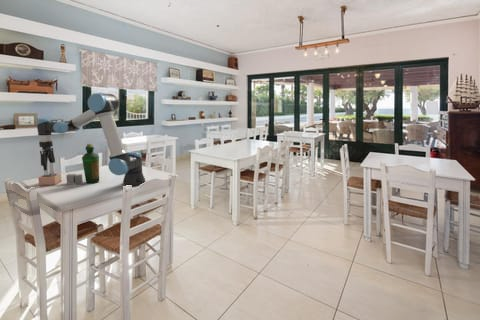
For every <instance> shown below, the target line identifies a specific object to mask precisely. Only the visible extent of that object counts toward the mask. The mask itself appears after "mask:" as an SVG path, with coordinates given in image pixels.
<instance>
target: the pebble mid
mask: <svg viewBox="0 0 480 320" xmlns="http://www.w3.org/2000/svg"><path fill="white" fill-rule="evenodd" d="M75 175H76V173H67V174H66V176H65V178H66V184H67V185H76V184H75Z"/></svg>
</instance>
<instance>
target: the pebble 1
mask: <svg viewBox="0 0 480 320" xmlns="http://www.w3.org/2000/svg"><path fill="white" fill-rule="evenodd" d="M55 174H56V173H55V172H50V171H49V175H44V174H43V175H44V176H45V177H54V176H55Z"/></svg>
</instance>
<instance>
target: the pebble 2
mask: <svg viewBox="0 0 480 320" xmlns="http://www.w3.org/2000/svg"><path fill="white" fill-rule="evenodd" d="M75 174H76V173H75ZM83 183H84V179H83V174H78V173H77V174H76V175H75V184H74V185H80V184H81V185H82V184H83Z"/></svg>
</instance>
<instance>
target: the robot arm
mask: <svg viewBox="0 0 480 320" xmlns="http://www.w3.org/2000/svg"><path fill="white" fill-rule="evenodd" d="M87 107H88V108H89V109H88V110H86V111H85V112H82V113H80V114H79V115H77V116H76V117H74V118H72V119H70V120H66V121H64V120H63V121H51V120H50V118H37V119H36V128H37V138H38V141H39V142H38V143H39V148H42V150H40V151H39V153H40V154H39V155H40V166H42V167H43V168H42V169H43V175H49V172H54V173H55V163H56V157H55V153H54V152H55V151H54V148H53V146H54V144H53V135H52V133H53V134H65V133H70V132H77V131H79V130H81V128H82V127H84V126H86V125H88V124H89V123H91V122H94V121H95V120H97V119H99V122H100V125H101V129H102V131H103V134H104V137H105V140H106V144H107V146H108V150H109V153H110V155H109V156H108V157H109V162H108V165H107V167H108V169H109V171H110V173H112V174H114V175H115V176H122V175H124V177H123V180H122V185H123V186H125V185H132V186H131V187H138V186H141V185H140V184H142V183H144V182H145V183H146V179H145V178H146V177H145V176H144V173H143V157H142V153H141V152H137V151H136V152H135V151H134V152H133V151H126V150H125V147H124V145H123V141H122V138H121V136H120V131H119V129H118V126H117V124H116V121H115V120H116V119H115V117H114V115H115V113H116V112H115V111H117V110H118V109H119V107H120V100H119V98H118V97H117V96H116V95H115V94H112V93H102V92H96V93H92V94H90V96H89V97H88V99H87ZM48 161H49V162H48Z"/></svg>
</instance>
